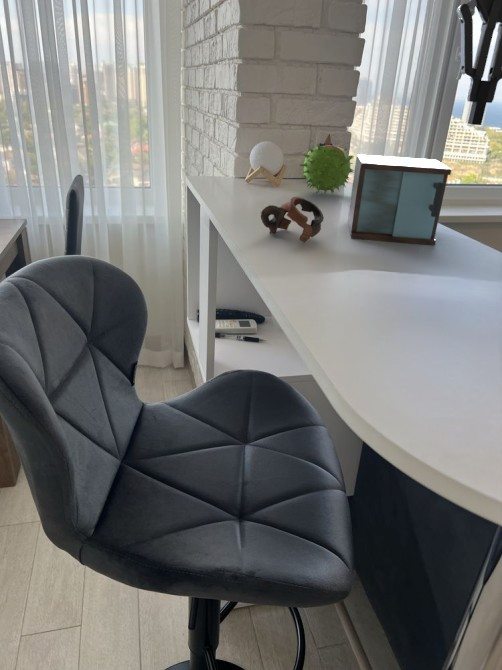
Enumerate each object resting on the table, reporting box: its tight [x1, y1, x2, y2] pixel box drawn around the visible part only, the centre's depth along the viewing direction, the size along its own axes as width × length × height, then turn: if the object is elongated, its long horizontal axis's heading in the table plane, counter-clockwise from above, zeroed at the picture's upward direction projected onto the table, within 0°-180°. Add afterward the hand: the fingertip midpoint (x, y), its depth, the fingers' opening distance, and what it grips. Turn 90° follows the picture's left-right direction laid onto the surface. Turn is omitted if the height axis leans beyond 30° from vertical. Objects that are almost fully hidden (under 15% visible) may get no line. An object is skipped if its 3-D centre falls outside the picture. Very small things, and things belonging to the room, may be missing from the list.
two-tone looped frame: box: [260, 196, 324, 243], centre depth 95 cm, size 12×10×8 cm
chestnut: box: [299, 143, 355, 195], centre depth 135 cm, size 15×14×15 cm
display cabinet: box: [347, 154, 452, 246], centre depth 100 cm, size 16×14×14 cm
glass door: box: [392, 172, 444, 239], centre depth 93 cm, size 7×4×12 cm, turn 83°
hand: (474, 124), depth 84 cm, fingers closed
